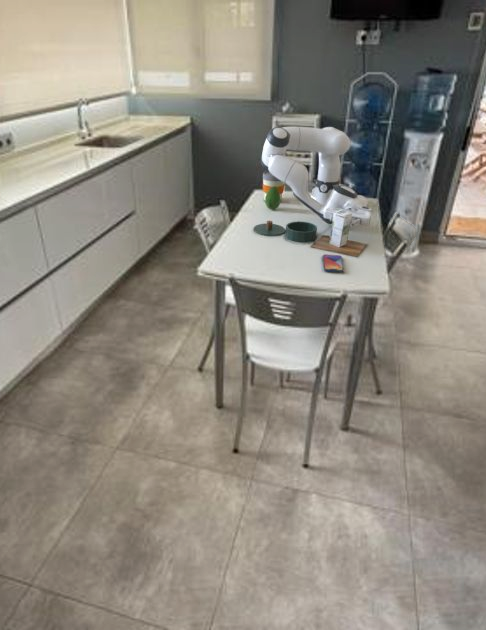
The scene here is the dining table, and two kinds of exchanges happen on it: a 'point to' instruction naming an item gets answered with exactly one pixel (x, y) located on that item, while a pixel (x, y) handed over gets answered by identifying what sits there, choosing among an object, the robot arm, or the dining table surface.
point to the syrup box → (340, 228)
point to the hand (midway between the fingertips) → (342, 221)
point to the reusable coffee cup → (272, 183)
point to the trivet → (348, 249)
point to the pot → (301, 232)
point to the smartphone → (333, 263)
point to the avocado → (272, 198)
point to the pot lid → (269, 229)
